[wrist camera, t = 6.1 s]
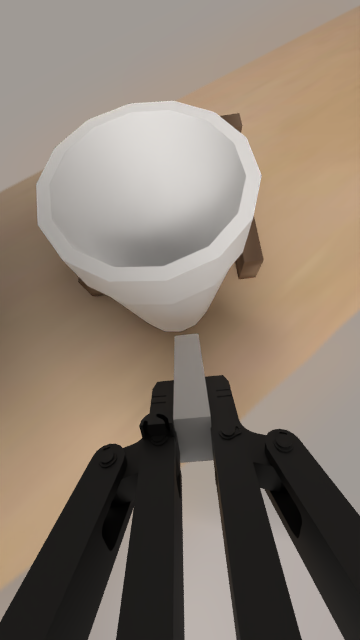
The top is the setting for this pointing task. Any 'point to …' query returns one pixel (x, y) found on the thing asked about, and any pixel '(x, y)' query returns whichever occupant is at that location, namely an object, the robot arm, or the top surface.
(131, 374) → the top surface
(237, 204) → the foam cup
